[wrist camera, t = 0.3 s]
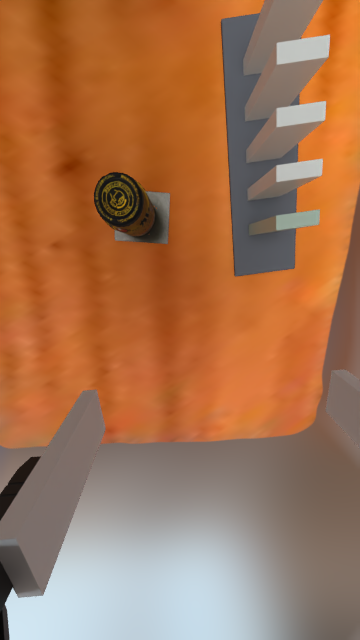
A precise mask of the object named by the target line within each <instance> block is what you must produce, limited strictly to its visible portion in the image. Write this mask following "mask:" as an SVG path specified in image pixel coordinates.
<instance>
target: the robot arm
mask: <svg viewBox="0 0 360 640" xmlns="http://www.w3.org/2000/svg"><path fill="white" fill-rule="evenodd" d="M326 412H327V413H328V415H329V416H330V417H331V418H332V419H333V420H334V421H335V422H336V423H337V424H338V425H339V426H340V427H341V429H343V431H344V432H345V433H346V434H347V435H348V436H349V437H350V438H351V439H352V440H353V441H354V443H355V444H356V445H357V446H358V447H359V448H360V380H359V379H358V378H357V377H355V376H354V375H352V374H351V373H350V372H348V371H347V370H335V371H332V373H331V379H330V386H329V392H328V398H327V405H326ZM104 432H105V424H104V420H103V415H102V411H101V407H100V402H99V398H98V393H97V390H87V391H82V393H81V395H80V396H79V398H78V399H77V401H76V402H75V404H74V406H73V407H72V409H71V410H70V412H69V414H68V415H67V417H66V418H65V420H64V421H63V423H62V425H61V426H60V428H59V429H58V431H57V432H56V434H55V436H54V437H53V439H52V440H51V442H50V443H49V445H48V447H47V448H46V450H45V451H44V453H43V454H42V456H40V457H31V458H30V459H29V460H28V461H26V462H25V463H24V464H23V465H22V466H21V467H20V468H19V469H18V470H17V471H16V473H15V474H14V475H13V477H12V478H11V480H10V481H9V483H8V486H6V487H5V488H4V490H3V491H2V492H1V494H0V640H9V628H8V617H7V609H6V606H5V602H6V600H7V598H8V596H9V594H10V592H11V589H12V587H13V588H14V590H15V592H16V594H17V596H18V597H31V596H43V594H44V592H45V589H46V586H47V584H48V581H49V578H50V576H51V573H52V570H53V568H54V565H55V562H56V560H57V557H58V554H59V551H60V549H61V546H62V544H63V541H64V538H65V536H66V533H67V530H68V528H69V525H70V522H71V520H72V517H73V514H74V512H75V509H76V507H77V504H78V501H79V499H80V496H81V493H82V490H83V488H84V485H85V483H86V480H87V477H88V475H89V472H90V469H91V467H92V464H93V461H94V458H95V456H96V453H97V451H98V448H99V445H100V443H101V440H102V437H103V435H104Z"/></svg>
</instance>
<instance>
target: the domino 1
mask: <svg viewBox="0 0 360 640" xmlns="http://www.w3.org/2000/svg"><path fill="white" fill-rule="evenodd" d="M322 1H323V0H265V1H264V4H263V7H262V9H261V12H260V15H259V18H258V20H257V23H256V26H255V29H254V31H253V34H252V37H251V40H250V42H249V45H248V48H247V51H246V53H245V56H244V59H243V72H244V75H251V74H258V73H262V71H263V69H264V67H265V65H266V63H267V61H268V59H269V57H270V55H271V53H272V51H273V49H274V47H275V45H276V43H278V42H285V41H292V40H298V39H300V38H301V36H302V35H303V33H304V31H305V30H306V28H307V26H308V25H309V23H310V21H311V19H312V18H313V16H314V14H315V13H316V11H317V9H318V8H319V6H320V4H321V3H322Z"/></svg>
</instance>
